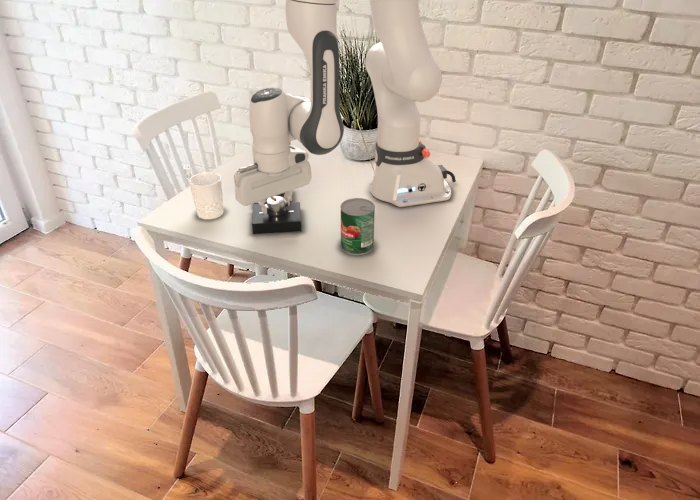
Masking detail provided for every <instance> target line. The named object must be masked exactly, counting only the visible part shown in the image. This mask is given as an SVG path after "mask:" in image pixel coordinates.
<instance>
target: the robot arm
mask: <svg viewBox="0 0 700 500" xmlns="http://www.w3.org/2000/svg"><path fill="white" fill-rule="evenodd" d="M368 1H369V8H370V14H371V21H372V26H373V30H374V32H375V34H376V35H377V37H378V39H379V42H378V43H375V44H374V45H373V46H371V47H370V49H369V50H368V52H367V53H366V57H365V61H364V64H365V70H366V72H367V74H368V76H369V77H370V78H369V79H370V82H371V85H372V90H373V95H374V100H375V105H376V112H377V141H376V143H375V148H374V162H375V169H374V175H373V178H372V183H371V185H370V188H369V191H370V194H371V195H372V196H374V198H376V199H377V200H380V201H382V202H386V203H390V204H392V205H394V206H395V207H397V208H404V207H411V206H417V205H424V204H430V203H431V204H432V203H437V202H438V203H439V202H444V201H449V200H450V199H451V197H452V189H451V186H450V185H449V183H448V182H447V181H446V180H445V179H448V175H449V176H450V177H451V181H452V183H456V181H457V180H456V176H455V174H454V173H453V172H452V171H450V170H448V169H447V168H446V167H445V166H444V165H442V164H437V163H436V162H435V161H433V160H432V159H430V156H431V152H430V150H429V149H428V148H426V145H425V144H423V142H422V141H421V140H420V131H421V114H420V110H419V109H418V106H417V105H416V102H417V103H426V102H428V101H430V100H432V99H433V98H434V97H435V96H436V95H437V93H438V92H439V91H440V89H441V86H442V81H443V74H442V70H441V68H440V67H439V65H438V64H437V62H436V61H435V59H434V57H433V55H432V52H431V49H430V47H429V44H428V41H427V38H426V34H425V31H424V29H423V25H422V21H421V15H420V5H419V0H368ZM284 7H285V8H284V9H285V12H284V13H285V20H286V28H287V31H288V33H289V35H290V37H291V38H292V39H293V40H294V42H295V43H296V44H297V45H298V47H299V49H300V50H301V51H302V54H303V55H304V57H305V58H306V61H307V63H308V67H309V73H310V98H309V97H307V96H303V95H294V94H290V93H288V92H286V91H284V90H283V89H281V88H280V87H265V88H262V89H260V90H257V91H256V92H255V93H254V94H253V95H252V96H251V98H250V100H249V106H248V107H249V109H248V110H249V111H248V113H249V114H248V116H249V118H248V119H249V128H250V129H249V130H250V133H251V136H252V144H251V149H252V159H253V160H252V161H253V163H252V164H248V165H247V166H241V167H239V168H238V170H236V172H235V173H234V175H233V180H234V197H235V198H234V199H235V200H236V201H237V203H238V204H240V205H242V206H243V207H248V206H250V205H253V204H254V203H256V202H258V203H259V205H260V206H261V209H262V213H264V214H268V213H270V207H269V206H268V205H267V204H266V205H265V204H264V203H265V202H266V199H267V198H270V197H273V196H276V195H279V194H282V193H285V195H284V200H285V207H286V206H289V205H290V201H289V200H290V198H291V196H292V197H293V193H294V190H295V189H298V188H302V187H305V186H307V185H309V184H310V182H311V181H312V168H311V164H310V161H309V153H310V154H313V155H316V156H324V155H326V154H329V153H331V152H333V151H334V150H335V149H336V148H337V147H338V146H339V145H340V143H341V141H342V139H343V137H344V133H345V127H344V122H343V118H342V114H341V109H340V70H341V69H340V68H341V67H340V49H339V48H340V47H339V41H338V31H337V15H338V13H337V12H338V0H285V6H284ZM292 141H298V142H299V143H300V144H301V145H302V146H303V147H304V148H305V149H306V150H307V151H306V150H304V149H302V148H301V147H299V146H297V145H294V144H291V142H292Z"/></svg>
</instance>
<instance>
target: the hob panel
mask: <svg viewBox="0 0 700 500" xmlns="http://www.w3.org/2000/svg"><path fill="white" fill-rule="evenodd" d="M265 205H266V204H265ZM301 215H302V214H301V202H300V201H294V202H293V201H292V202H290V205H289V206H286V207H285V214H284V215H282V216H278V217H274V216H270V215H269V214H264V213H262V209H261V206H260V205H259V204H254V203H253V204H252V217H251V218H252V219H251V229H252V234H253V235H263V234H281V233H282V234H283V233H299V232H300V233H301V232H303V231H302V216H301Z"/></svg>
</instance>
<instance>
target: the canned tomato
mask: <svg viewBox="0 0 700 500" xmlns="http://www.w3.org/2000/svg"><path fill="white" fill-rule="evenodd" d="M375 209H376V205H375V203H374V202H373V201H371V200H370V199H367V198H362V197H352V198H349V199H346V200H343V201H342V202H341V203H340V249H341V250H342V252H344V253H346V254H347V255H351V256H364V255H367V254H369V253H371V252H372V251H373V250H374V246H375V245H374V241H375V236H374V235H375V214H376V213H375Z"/></svg>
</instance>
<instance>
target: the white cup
mask: <svg viewBox="0 0 700 500" xmlns="http://www.w3.org/2000/svg"><path fill="white" fill-rule="evenodd" d="M188 183H189V186H190V192H191V196H192V201H193V205H194V207H195V211H196V215H197V217H198V218H199V219H202V220H215V219H217V218H220V217H221V216H222V215H224V198H223V197H224V195H223V186H222V176H221V175H220V174H219V173H217V172H211V171H206V172H205V171H204V172H199V173H196V174H194V175H191V176H190V178H189V179H188Z"/></svg>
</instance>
